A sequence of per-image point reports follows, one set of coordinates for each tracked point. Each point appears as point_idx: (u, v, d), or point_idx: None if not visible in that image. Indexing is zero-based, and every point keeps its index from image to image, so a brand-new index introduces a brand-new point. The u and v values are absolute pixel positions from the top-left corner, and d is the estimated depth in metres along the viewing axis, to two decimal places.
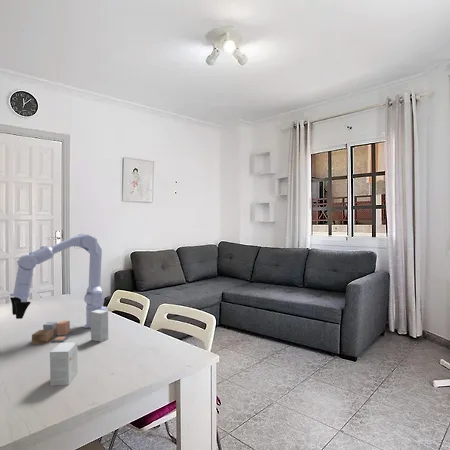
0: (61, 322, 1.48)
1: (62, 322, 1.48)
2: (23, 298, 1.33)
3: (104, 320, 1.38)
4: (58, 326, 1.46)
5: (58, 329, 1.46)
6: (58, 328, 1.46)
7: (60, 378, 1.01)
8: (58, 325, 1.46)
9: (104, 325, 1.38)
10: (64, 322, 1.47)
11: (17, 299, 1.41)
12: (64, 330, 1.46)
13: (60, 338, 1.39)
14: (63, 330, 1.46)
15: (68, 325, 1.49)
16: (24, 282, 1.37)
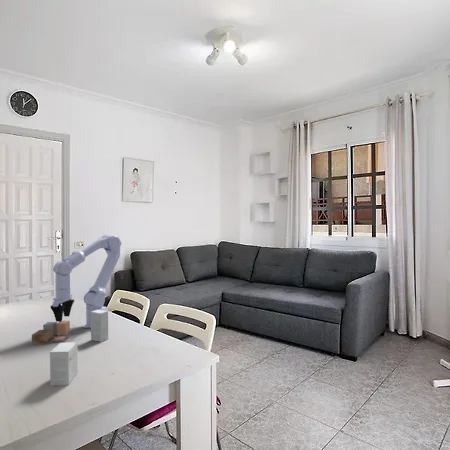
0: (61, 322, 1.48)
1: (62, 322, 1.48)
2: (53, 303, 1.40)
3: (104, 320, 1.38)
4: (58, 326, 1.46)
5: (58, 329, 1.46)
6: (58, 328, 1.46)
7: (60, 378, 1.01)
8: (58, 325, 1.46)
9: (104, 325, 1.38)
10: (64, 322, 1.47)
11: (65, 302, 1.51)
12: (64, 330, 1.46)
13: (60, 338, 1.39)
14: (63, 330, 1.46)
15: (68, 325, 1.49)
16: (64, 287, 1.46)
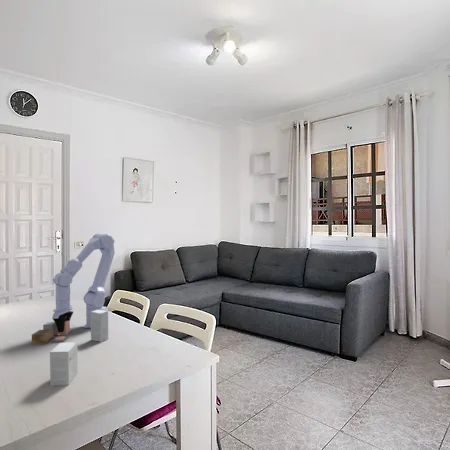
0: None
1: None
2: (54, 315, 1.41)
3: (104, 320, 1.38)
4: None
5: None
6: None
7: (60, 378, 1.01)
8: None
9: (104, 325, 1.38)
10: None
11: (64, 314, 1.50)
12: (64, 330, 1.46)
13: (60, 338, 1.39)
14: None
15: (68, 325, 1.49)
16: (65, 298, 1.46)
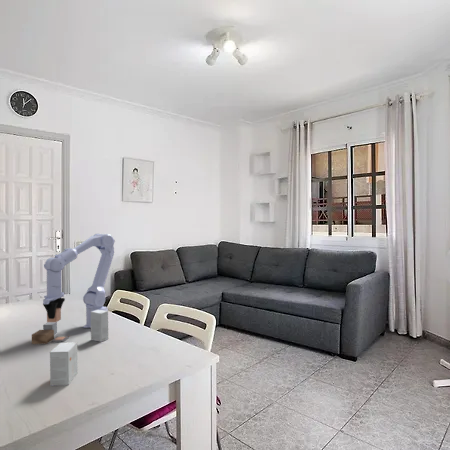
0: None
1: None
2: (44, 300, 1.36)
3: (104, 320, 1.38)
4: None
5: None
6: None
7: (60, 378, 1.01)
8: None
9: (104, 325, 1.38)
10: None
11: (55, 301, 1.46)
12: (55, 317, 1.42)
13: (60, 338, 1.39)
14: None
15: (59, 312, 1.45)
16: (56, 284, 1.42)
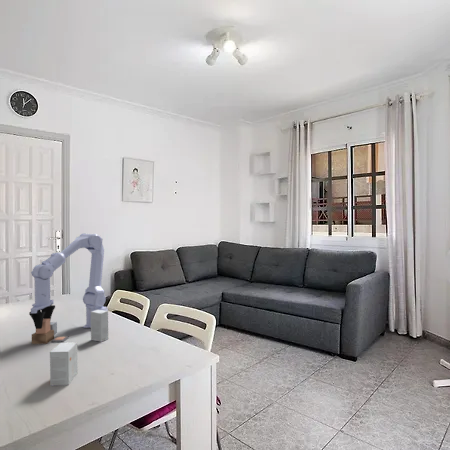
0: None
1: None
2: (31, 309, 1.31)
3: (104, 320, 1.38)
4: None
5: None
6: None
7: (60, 378, 1.01)
8: None
9: (104, 325, 1.38)
10: (44, 320, 1.38)
11: (46, 308, 1.41)
12: (44, 328, 1.36)
13: (60, 338, 1.39)
14: (42, 328, 1.36)
15: (49, 323, 1.40)
16: (45, 292, 1.36)
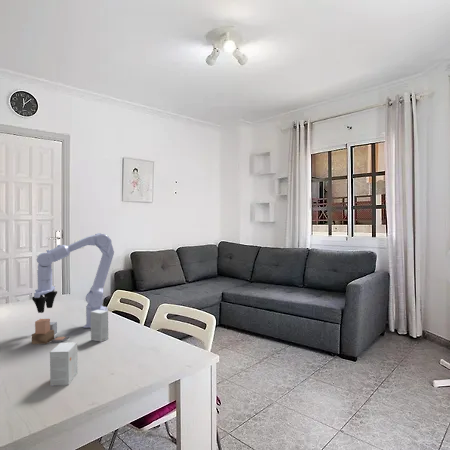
0: (40, 320, 1.38)
1: (41, 320, 1.38)
2: (35, 294, 1.40)
3: (104, 320, 1.38)
4: (37, 324, 1.36)
5: (37, 327, 1.36)
6: (37, 326, 1.36)
7: (60, 378, 1.01)
8: (37, 323, 1.36)
9: (104, 325, 1.38)
10: (43, 320, 1.38)
11: (48, 294, 1.51)
12: (43, 329, 1.36)
13: (60, 338, 1.39)
14: (42, 328, 1.36)
15: (48, 323, 1.39)
16: (44, 278, 1.45)
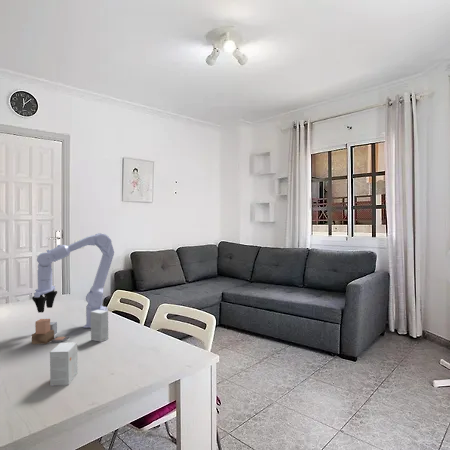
0: (41, 320, 1.38)
1: (42, 320, 1.38)
2: (35, 294, 1.41)
3: (104, 320, 1.38)
4: (37, 324, 1.36)
5: (37, 328, 1.36)
6: (37, 326, 1.36)
7: (60, 378, 1.01)
8: (37, 323, 1.36)
9: (104, 325, 1.38)
10: (44, 320, 1.38)
11: (48, 293, 1.52)
12: (44, 329, 1.36)
13: (60, 338, 1.39)
14: (42, 328, 1.36)
15: (49, 323, 1.39)
16: (44, 278, 1.45)
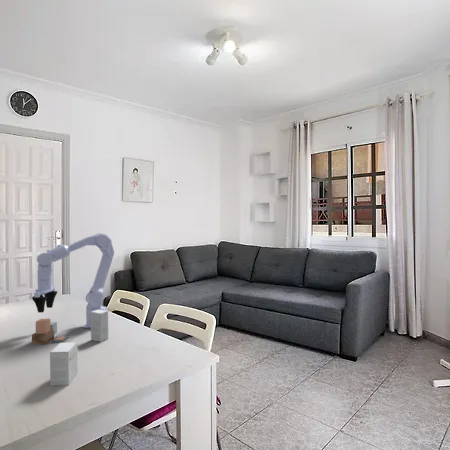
0: (41, 320, 1.38)
1: (42, 320, 1.38)
2: (35, 294, 1.41)
3: (104, 320, 1.38)
4: (37, 324, 1.36)
5: (37, 327, 1.36)
6: (37, 326, 1.36)
7: (60, 378, 1.01)
8: (37, 323, 1.36)
9: (104, 325, 1.38)
10: (44, 320, 1.38)
11: (48, 293, 1.52)
12: (44, 328, 1.36)
13: (60, 338, 1.39)
14: (43, 328, 1.36)
15: (49, 323, 1.40)
16: (44, 278, 1.45)
